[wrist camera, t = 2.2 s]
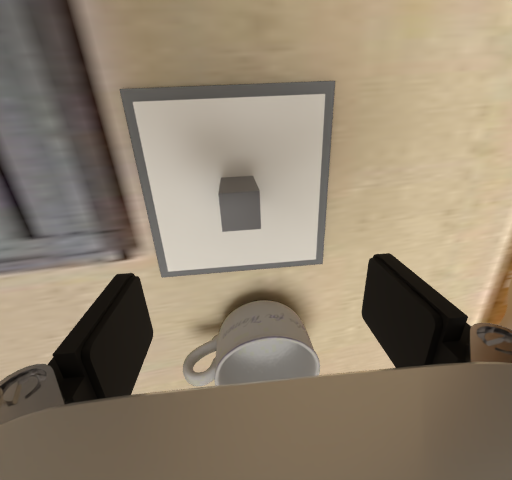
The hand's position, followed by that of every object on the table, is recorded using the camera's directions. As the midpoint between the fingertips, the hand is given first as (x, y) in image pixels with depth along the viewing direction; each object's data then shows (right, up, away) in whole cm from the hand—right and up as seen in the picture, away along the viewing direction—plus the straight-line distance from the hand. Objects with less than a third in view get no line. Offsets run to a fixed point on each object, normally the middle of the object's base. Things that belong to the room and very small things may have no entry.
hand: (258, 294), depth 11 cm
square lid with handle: (-2, +7, +15) cm, 17 cm away
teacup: (-1, -8, +23) cm, 24 cm away
